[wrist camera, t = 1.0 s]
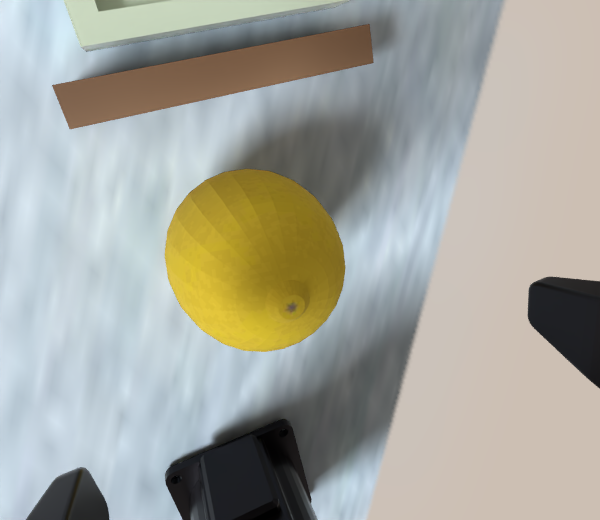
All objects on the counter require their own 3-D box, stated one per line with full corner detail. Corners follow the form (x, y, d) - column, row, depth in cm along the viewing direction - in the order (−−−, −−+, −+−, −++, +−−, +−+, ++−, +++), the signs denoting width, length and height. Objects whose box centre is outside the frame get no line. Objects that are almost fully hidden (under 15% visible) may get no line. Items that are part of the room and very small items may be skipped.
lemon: (260, 131, 17) (351, 155, 10) (310, 246, 19) (413, 333, 12) (130, 195, 16) (126, 275, 9) (201, 308, 18) (242, 439, 11)
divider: (342, 67, 17) (373, 62, 15) (80, 124, 14) (69, 129, 12) (337, 33, 16) (369, 23, 14) (65, 87, 14) (51, 85, 12)
